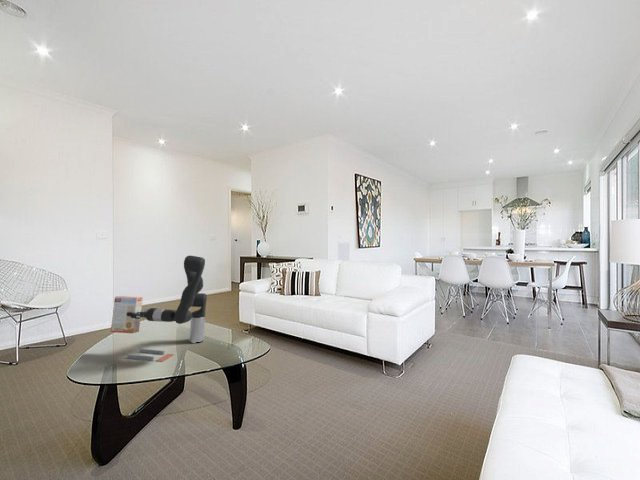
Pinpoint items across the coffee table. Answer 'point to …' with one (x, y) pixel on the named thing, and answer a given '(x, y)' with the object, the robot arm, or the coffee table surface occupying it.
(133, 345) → the coffee table surface
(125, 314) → the cracker box
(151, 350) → the channel
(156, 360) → the pad
